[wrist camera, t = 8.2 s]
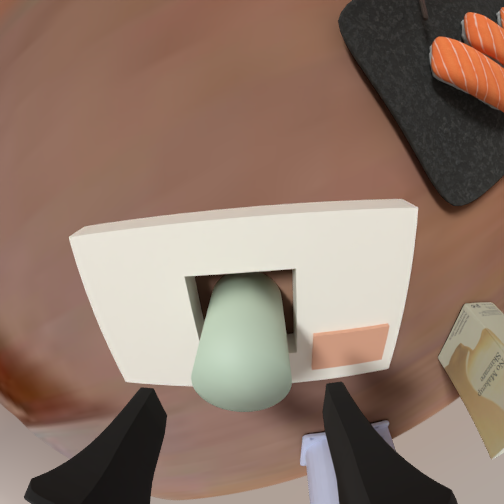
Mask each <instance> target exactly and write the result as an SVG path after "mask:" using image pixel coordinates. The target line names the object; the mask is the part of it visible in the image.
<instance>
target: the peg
mask: <svg viewBox="0 0 504 504" xmlns="http://www.w3.org/2000/svg"><path fill="white" fill-rule="evenodd" d="M191 381H192V385H193V387H194V389H195V391H196V392H197V393H198V394H199V395H200V396H201V397H202V398H203V399H204V400H206V401H207V402H209V403H210V404H212V405H214V406H216V407H219V408H222V409H226V410H230V411H237V412H252V411H258V410H263V409H266V408H269V407H271V406H273V405H275V404H277V403H279V402H280V401H281V400H283V399H284V398H285V397H286V395H287V394H288V393H289V391H290V389H291V385H292V377H291V368H290V360H289V351H288V343H287V335H286V327H285V319H284V312H283V304H282V296H281V292H280V290H279V288H278V286H277V284H276V283H275V282H274V281H273V280H272V279H271V278H270V277H268V276H267V275H265V274H263V273H260V272H245V273H231V274H227V275H225V276H224V277H222V278H221V279H220V280H219V281H218V282H217V283H216V285H215V286H214V289H213V291H212V295H211V299H210V303H209V307H208V310H207V314H206V318H205V322H204V326H203V330H202V334H201V338H200V342H199V346H198V350H197V354H196V358H195V362H194V366H193V370H192V374H191Z"/></svg>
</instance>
